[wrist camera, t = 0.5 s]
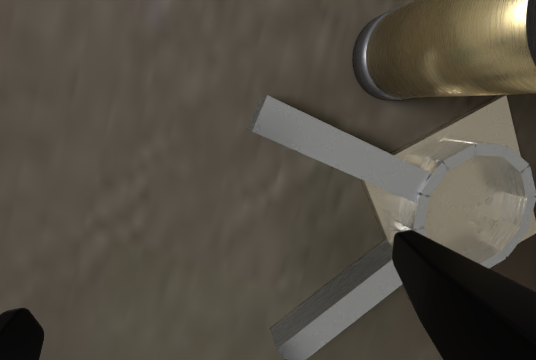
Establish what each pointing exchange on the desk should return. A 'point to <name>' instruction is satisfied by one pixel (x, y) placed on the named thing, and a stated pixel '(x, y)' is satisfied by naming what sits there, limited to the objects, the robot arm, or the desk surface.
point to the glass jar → (449, 50)
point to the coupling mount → (409, 204)
